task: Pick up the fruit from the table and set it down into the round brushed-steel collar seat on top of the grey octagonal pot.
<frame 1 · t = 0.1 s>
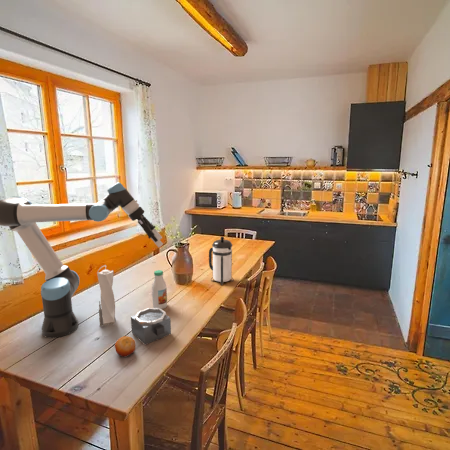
hand: (160, 242, 162), 36 cm above the table, tool tilted 35°, fingers open, 13 cm apart
fruit: (125, 354, 129), on the table
skyscraper: (108, 321, 155), on the table
coffee press: (220, 280, 206), on the table
grey octagonal pot: (151, 333, 144), on the table
milk bottle: (160, 306, 170), on the table
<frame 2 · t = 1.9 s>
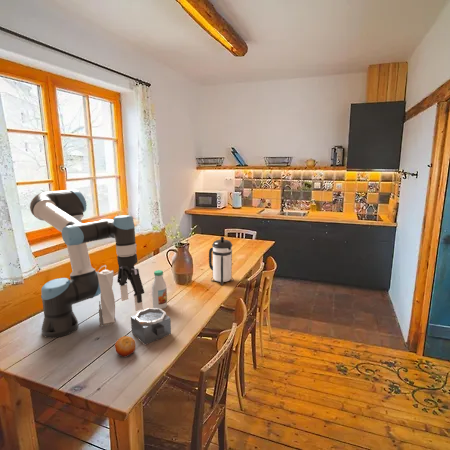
hand: (131, 304, 128), 20 cm above the table, tool pointing down, fingers open, 13 cm apart
nothing on the table moved.
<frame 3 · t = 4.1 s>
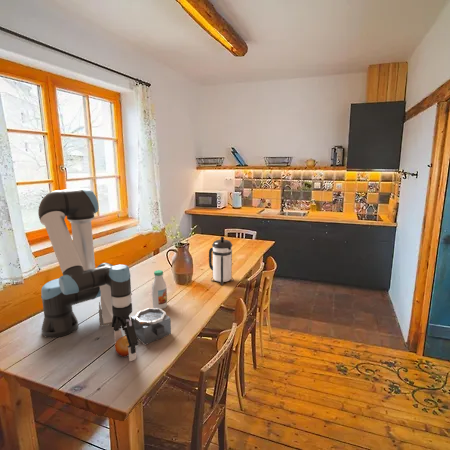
hand: (125, 351, 129), 1 cm above the table, tool pointing down, fingers open, 13 cm apart
skyscraper: (108, 320, 155), on the table, touching arm
everything else where it was.
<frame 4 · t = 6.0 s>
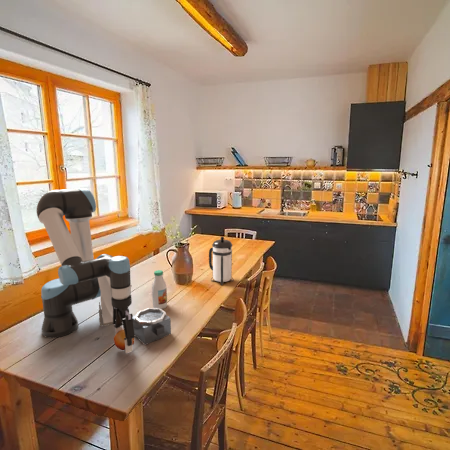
hand: (124, 346, 129), 3 cm above the table, tool pointing down, fingers closed on fruit, 8 cm apart
fruit: (124, 347, 129), point 2 cm above the table, touching gripper
everything else where it was.
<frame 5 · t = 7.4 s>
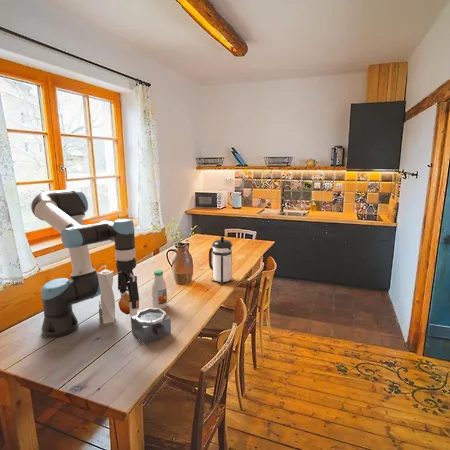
hand: (129, 311, 129), 17 cm above the table, tool pointing down, fingers closed on fruit, 8 cm apart
fruit: (129, 312, 129), point 17 cm above the table, touching gripper
skyscraper: (108, 321, 155), on the table
everything else where it was.
when the fingers open (9 cm above the table, at t = 10.5 s): fruit stays where it is, resting on grey octagonal pot.
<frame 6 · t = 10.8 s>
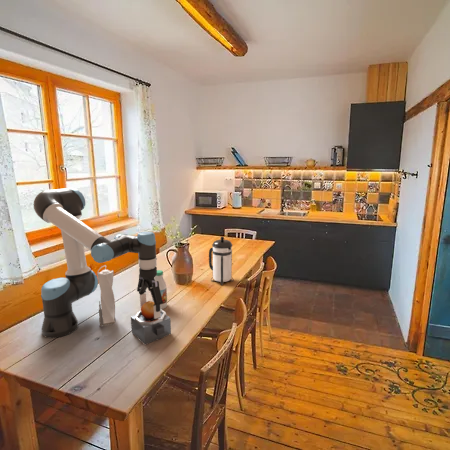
hand: (150, 312, 142), 10 cm above the table, tool pointing down, fingers open, 12 cm apart
fruit: (150, 317, 142), point 8 cm above the table, touching grey octagonal pot
everything else where it was.
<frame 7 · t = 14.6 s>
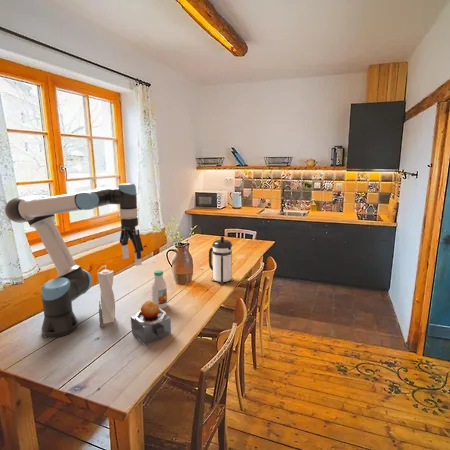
hand: (132, 261, 148), 31 cm above the table, tool pointing down, fingers open, 13 cm apart
nothing on the table moved.
at the end: fruit 0.2 cm from the grey octagonal pot (horizontally); fruit point 7.8 cm above the table; the gripper is holding nothing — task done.
